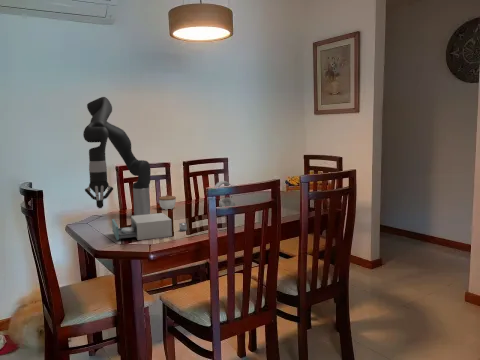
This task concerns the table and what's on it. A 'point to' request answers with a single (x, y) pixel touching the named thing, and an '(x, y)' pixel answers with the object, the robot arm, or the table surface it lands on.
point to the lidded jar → (167, 202)
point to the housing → (152, 226)
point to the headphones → (225, 201)
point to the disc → (128, 230)
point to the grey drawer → (119, 233)
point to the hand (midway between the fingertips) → (100, 208)
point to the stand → (183, 226)
